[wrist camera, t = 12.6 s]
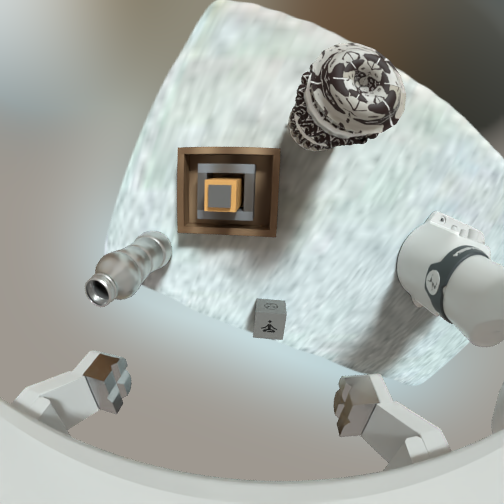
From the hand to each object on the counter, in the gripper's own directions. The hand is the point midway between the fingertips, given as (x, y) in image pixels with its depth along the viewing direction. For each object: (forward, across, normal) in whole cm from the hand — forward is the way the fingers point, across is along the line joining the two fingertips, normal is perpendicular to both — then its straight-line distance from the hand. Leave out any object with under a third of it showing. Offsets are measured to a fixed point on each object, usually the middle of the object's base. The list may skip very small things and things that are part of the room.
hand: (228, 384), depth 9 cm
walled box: (+37, +5, -4) cm, 38 cm away
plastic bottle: (+37, +18, +6) cm, 42 cm away
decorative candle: (+37, -8, -15) cm, 41 cm away
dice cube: (+37, -2, +17) cm, 41 cm away
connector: (+36, +5, -4) cm, 37 cm away
